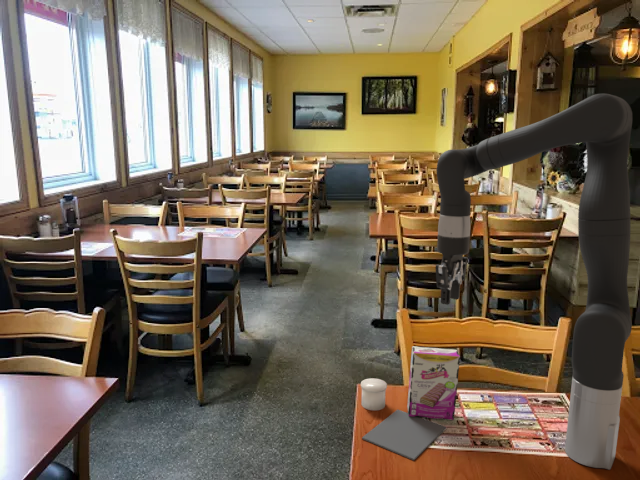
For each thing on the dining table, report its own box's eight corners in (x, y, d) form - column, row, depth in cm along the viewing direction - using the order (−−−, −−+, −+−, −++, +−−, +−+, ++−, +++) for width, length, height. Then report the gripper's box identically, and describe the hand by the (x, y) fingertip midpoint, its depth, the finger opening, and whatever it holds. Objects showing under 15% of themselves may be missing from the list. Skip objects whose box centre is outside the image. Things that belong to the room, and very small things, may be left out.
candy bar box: (408, 417, 125) (412, 352, 123) (406, 408, 130) (410, 345, 128) (455, 421, 124) (460, 355, 122) (452, 411, 129) (457, 348, 127)
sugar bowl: (391, 403, 133) (391, 383, 132) (377, 413, 128) (378, 392, 127) (369, 395, 137) (369, 376, 136) (355, 405, 132) (355, 385, 131)
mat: (446, 428, 122) (446, 426, 122) (413, 460, 109) (414, 458, 109) (397, 410, 129) (397, 409, 129) (362, 439, 117) (362, 437, 117)
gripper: (456, 239, 117) (452, 311, 121) (480, 231, 129) (475, 297, 132) (426, 235, 122) (423, 305, 125) (451, 228, 133) (448, 292, 136)
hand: (450, 300), depth 128 cm, fingers open, 5 cm apart
